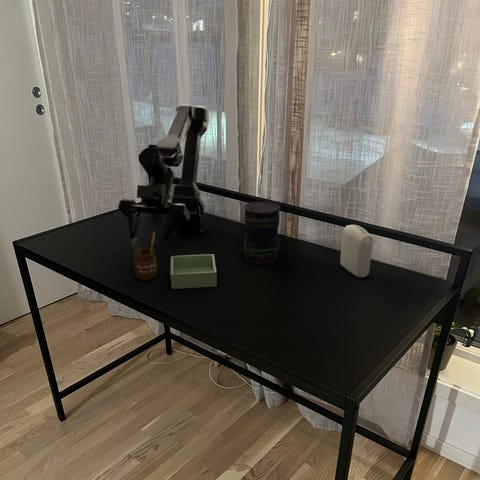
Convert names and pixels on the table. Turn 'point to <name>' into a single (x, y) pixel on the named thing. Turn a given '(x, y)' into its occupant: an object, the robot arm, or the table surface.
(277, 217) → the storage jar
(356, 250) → the photo printer
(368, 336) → the table surface
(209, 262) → the tray
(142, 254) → the utensil holder
